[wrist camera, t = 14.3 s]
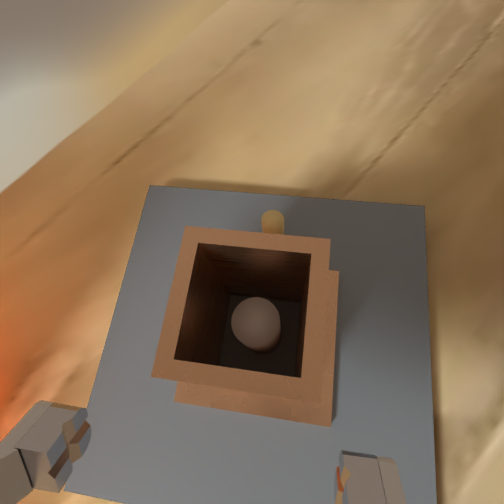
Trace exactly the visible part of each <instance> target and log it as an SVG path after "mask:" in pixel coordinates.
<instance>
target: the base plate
mask: <svg viewBox="0 0 504 504" xmlns="http://www.w3.org/2000/svg"><path fill="white" fill-rule="evenodd" d="M185 226H194V227H205V228H216V229H227V230H238V231H249V232H260V233H271V234H282V235H293V236H303V237H314V238H325V239H331V242H330V258H329V270H334V271H339V283H338V302H337V321H336V340H335V359H334V378H333V398H332V417H331V427H325V426H319V425H313V424H307V423H301V422H295V421H289V420H283V419H277V418H271V417H264V416H258V415H252V414H246V413H240V412H234V411H228V410H222V409H216V408H210V407H204V406H197V405H191V404H185V403H179V402H174V397H175V392H176V387H177V382H178V381H174V380H167V379H161V378H154V377H151V373H152V369H153V364H154V360H155V356H156V351H157V347H158V342H159V338H160V334H161V329H162V325H163V321H164V316H165V312H166V307H167V303H168V299H169V294H170V290H171V285H172V281H173V277H174V272H175V268H176V264H177V259H178V255H179V250H180V246H181V242H182V237H183V233H184V229H185ZM300 308H301V303H298V302H289V301H281V300H272V299H264V298H259V297H247V296H238V295H231V296H230V302H229V308H228V314H227V320H226V327H225V333H224V339H223V345H222V351H221V357H220V363H219V366H222V367H229V368H236V369H242V370H249V371H256V372H263V373H270V374H277V375H283V376H290V377H294V374H295V363H296V352H297V341H298V330H299V319H300ZM87 413H88V417H87V418H86V421H87V422H88V423H89V424H90V425H91V430H92V431H91V439H90V442H89V445H88V447H87V449H86V451H85V453H84V454H83V456H82V457H81V458H79V459H78V460H76V461H75V462H74V463H73V472H72V473H71V475H70V476H69V478H68V480H67V481H66V485H65V488H64V491H68V492H72V493H77V494H82V495H87V496H91V497H96V498H101V499H105V500H110V501H115V502H120V503H124V504H335V499H334V479H335V471H336V467H338V466H339V454H340V451H341V450H344V451H351V452H358V453H365V454H371V455H375V456H380V457H387V458H393V459H394V460H395V462H396V464H397V468H398V472H399V476H400V480H401V484H402V488H403V492H404V496H405V500H406V504H437V497H436V473H435V449H434V424H433V400H432V376H431V352H430V328H429V303H428V279H427V255H426V231H425V207H424V206H415V205H402V204H389V203H376V202H363V201H350V200H337V199H323V198H310V197H297V196H284V195H271V194H258V193H245V192H232V191H218V190H205V189H192V188H179V187H166V186H153V185H150V186H149V190H148V193H147V197H146V200H145V204H144V207H143V211H142V215H141V218H140V222H139V225H138V229H137V232H136V236H135V239H134V243H133V247H132V250H131V254H130V257H129V261H128V264H127V268H126V271H125V275H124V279H123V282H122V286H121V289H120V293H119V296H118V300H117V303H116V307H115V310H114V314H113V318H112V321H111V325H110V328H109V332H108V335H107V339H106V342H105V346H104V350H103V353H102V357H101V360H100V364H99V367H98V371H97V374H96V378H95V382H94V385H93V389H92V392H91V396H90V399H89V403H88V406H87Z"/></svg>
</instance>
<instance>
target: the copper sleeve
mask: <svg viewBox="0 0 504 504" xmlns="http://www.w3.org/2000/svg"><path fill="white" fill-rule="evenodd" d="M330 242H331V239H325V238H314V237H303V236H293V235H282V234H271V233H260V232H249V231H238V230H227V229H216V228H205V227H194V226H185V229H184V233H183V237H182V242H181V246H180V250H179V255H178V259H177V264H176V268H175V272H174V277H173V281H172V285H171V290H170V294H169V299H168V303H167V307H166V312H165V316H164V321H163V325H162V329H161V334H160V338H159V342H158V347H157V351H156V356H155V360H154V364H153V369H152V373H151V377H154V378H161V379H167V380H174V381H178V382H177V387H176V392H175V397H174V402H179V403H185V404H191V405H197V406H204V407H210V408H216V409H222V410H228V411H234V412H240V413H246V414H252V415H258V416H264V417H271V418H277V419H283V420H289V421H295V422H301V423H307V424H313V425H319V426H325V427H331V417H332V398H333V378H334V359H335V340H336V321H337V302H338V283H339V271H334V270H329V258H330ZM231 295H238V296H247V297H259V298H264V299H272V300H281V301H289V302H298V303H301V308H300V319H299V330H298V341H297V352H296V363H295V374H294V377H290V376H283V375H277V374H270V373H263V372H256V371H249V370H242V369H236V368H229V367H222V366H219V363H220V357H221V351H222V345H223V339H224V333H225V327H226V320H227V314H228V308H229V302H230V296H231Z"/></svg>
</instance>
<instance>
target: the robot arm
mask: <svg viewBox="0 0 504 504" xmlns="http://www.w3.org/2000/svg"><path fill="white" fill-rule="evenodd" d="M87 417H88V413H87V409H86V408H81V407H76V406H71V405H65V404H60V403H55V402H49V401H43V400H41V401H39V402H37V403H36V404H34V406H33V407H32V408H31V409H30V410H29V411H28V412H27V413H26V414H25V415H24V417H23V418H22V419H21V420H20V421H19V422H18V423H17V424H16V425H15V427H14V428H13V429H12V430H11V431H10V432H9V433H8V434H7V435H6V436H5V438H4V439H3V440H2V441H1V442H0V504H16V503H18V502H19V501H20V500H21V499H23V498H24V497H25V496H26V495H28V494H29V493H30V492H31V491H32V490H33V489H38V490H45V491H51V492H57V493H59V492H60V490H61V489H62V487H63V486H64V484H65V483H66V481H67V480H68V478H69V476H70V475H71V473H72V472H73V463H74V462H75V461H76V460H78V459H79V458H81V457H82V456H83V454H84V453H85V451H86V449H87V447H88V445H89V442H90V439H91V431H92V430H91V425H90V424H89V423H88V422H87V421H86V418H87ZM334 499H335V504H406V500H405V496H404V492H403V488H402V484H401V480H400V476H399V472H398V468H397V464H396V462H395V460H394V459H393V458H387V457H380V456H375V455H371V454H365V453H358V452H351V451H344V450H341V451H340V454H339V466H338V467H336V471H335V479H334Z"/></svg>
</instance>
